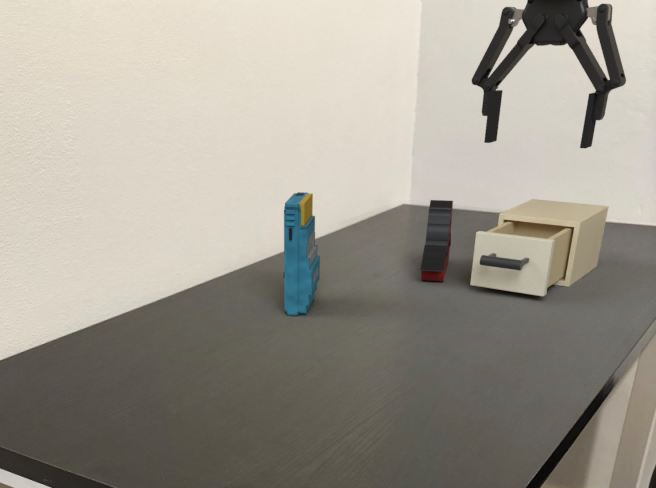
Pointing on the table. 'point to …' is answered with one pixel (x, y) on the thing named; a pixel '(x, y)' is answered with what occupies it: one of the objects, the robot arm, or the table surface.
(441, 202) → the extruded letter emblem
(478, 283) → the drawer
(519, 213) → the cabinet
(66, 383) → the table surface
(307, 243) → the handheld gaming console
